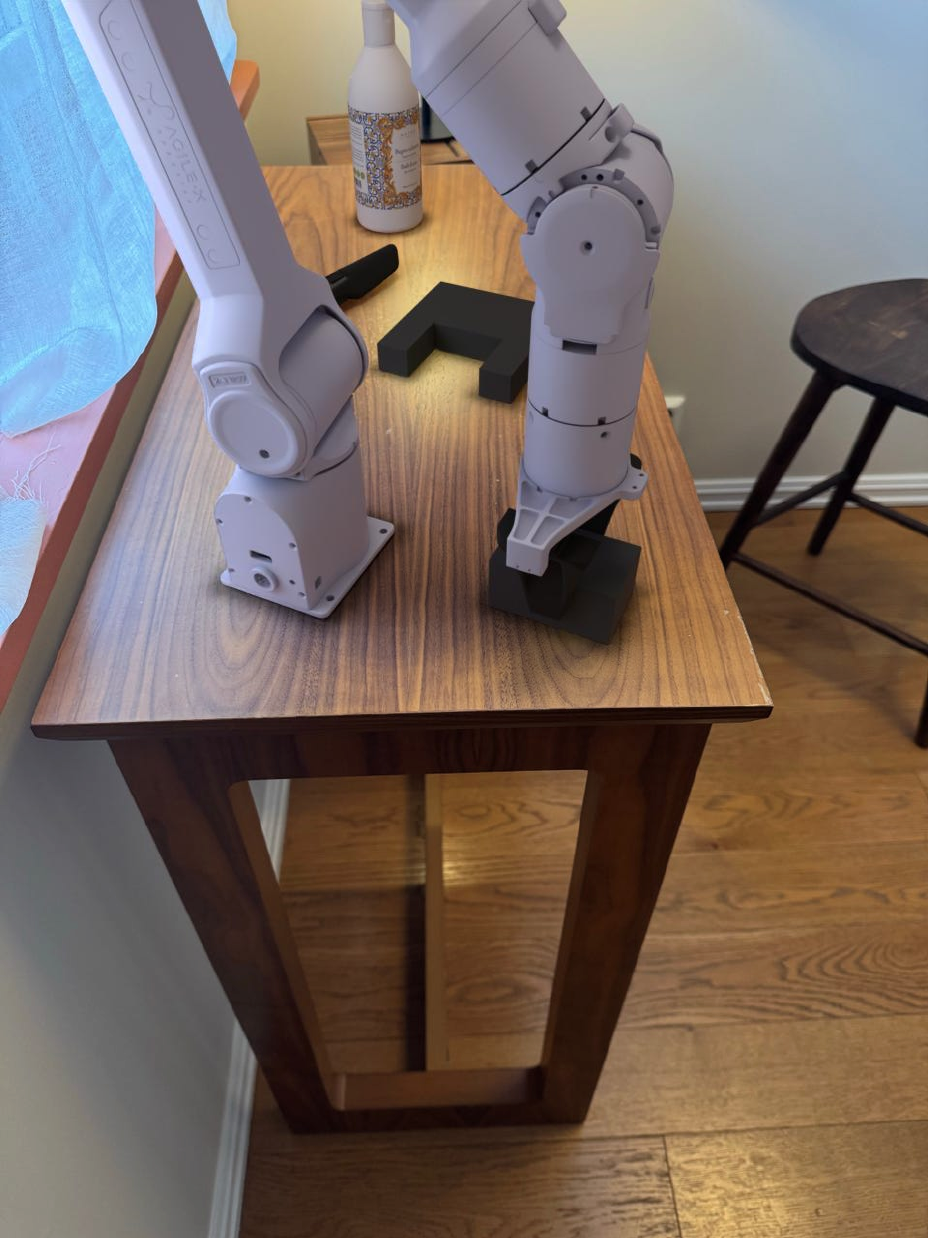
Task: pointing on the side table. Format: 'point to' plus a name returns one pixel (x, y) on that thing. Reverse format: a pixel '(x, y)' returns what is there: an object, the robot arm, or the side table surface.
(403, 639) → the side table surface
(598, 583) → the rectangular block
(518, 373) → the base pad
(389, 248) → the electric trimmer
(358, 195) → the bath foam
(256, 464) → the robot arm
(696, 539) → the side table surface
